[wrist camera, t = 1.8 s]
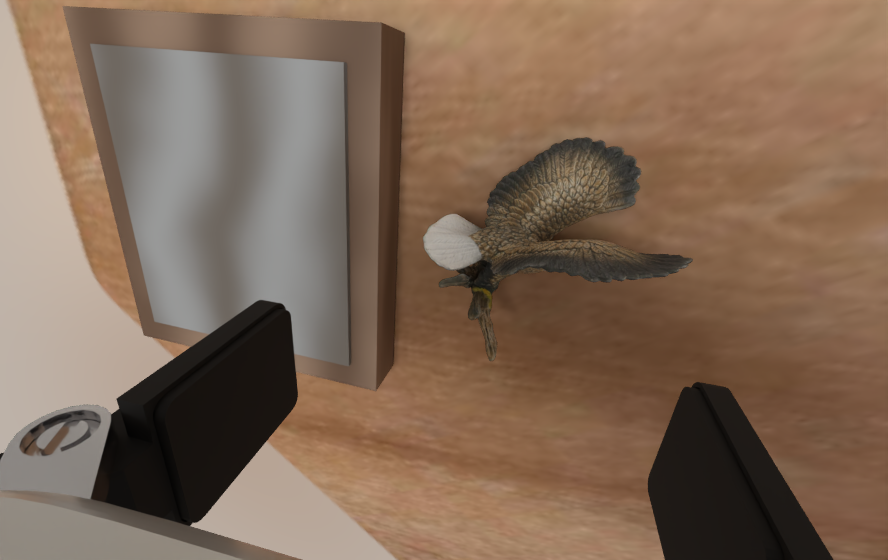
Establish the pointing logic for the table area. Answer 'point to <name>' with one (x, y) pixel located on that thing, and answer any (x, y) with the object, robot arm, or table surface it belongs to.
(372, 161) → the picture frame
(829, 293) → the table surface
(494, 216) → the eagle figurine
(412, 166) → the table surface
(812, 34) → the table surface
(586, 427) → the table surface
